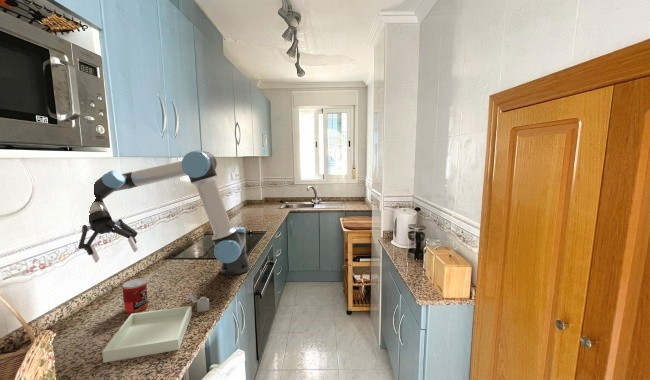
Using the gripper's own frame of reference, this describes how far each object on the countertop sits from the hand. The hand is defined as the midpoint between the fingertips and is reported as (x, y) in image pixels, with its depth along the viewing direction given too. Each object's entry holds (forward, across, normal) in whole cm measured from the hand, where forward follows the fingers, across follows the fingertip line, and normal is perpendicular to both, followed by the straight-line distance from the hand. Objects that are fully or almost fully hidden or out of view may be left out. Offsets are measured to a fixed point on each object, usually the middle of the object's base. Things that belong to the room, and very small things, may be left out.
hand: (117, 255), depth 110 cm
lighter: (+38, -12, +10) cm, 41 cm away
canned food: (+22, 0, -6) cm, 23 cm away
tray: (+38, +5, +10) cm, 40 cm away
